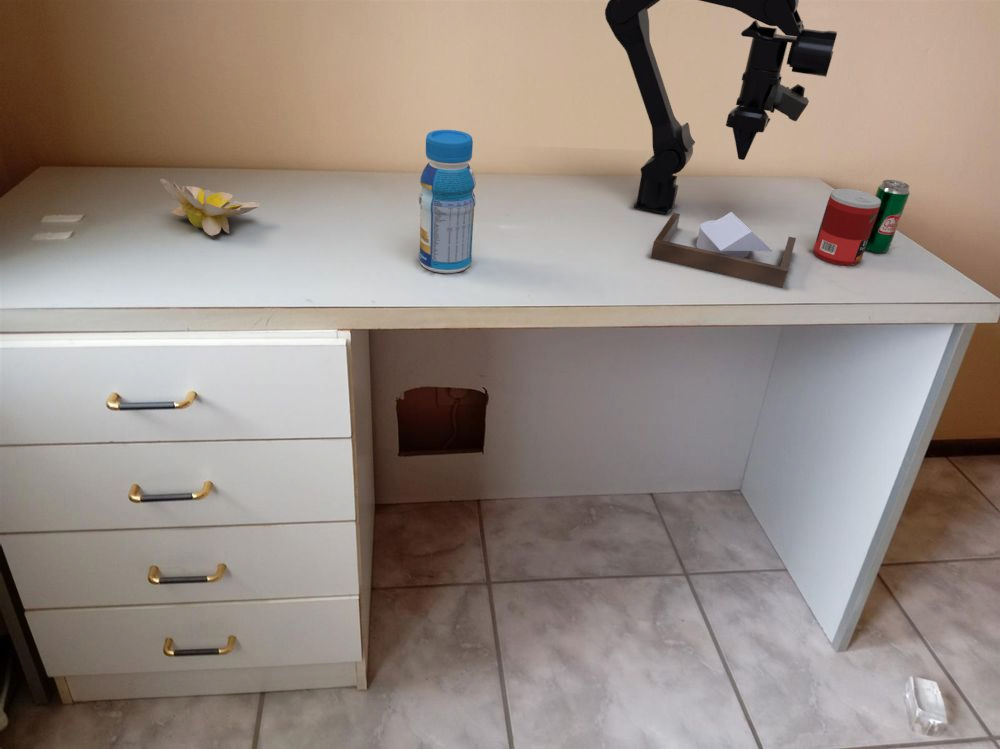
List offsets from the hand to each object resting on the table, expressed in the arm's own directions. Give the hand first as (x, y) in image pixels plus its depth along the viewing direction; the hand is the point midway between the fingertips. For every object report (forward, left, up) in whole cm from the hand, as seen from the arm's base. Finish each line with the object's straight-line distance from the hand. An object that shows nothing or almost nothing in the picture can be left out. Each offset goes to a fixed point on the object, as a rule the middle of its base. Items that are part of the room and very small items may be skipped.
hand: (741, 159), depth 139 cm
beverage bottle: (-37, -44, -12) cm, 59 cm away
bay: (+2, -16, -12) cm, 20 cm away
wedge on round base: (+2, -15, -12) cm, 19 cm away
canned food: (+20, -6, -12) cm, 24 cm away
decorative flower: (-76, -51, -12) cm, 92 cm away
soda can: (+26, +2, -12) cm, 29 cm away
